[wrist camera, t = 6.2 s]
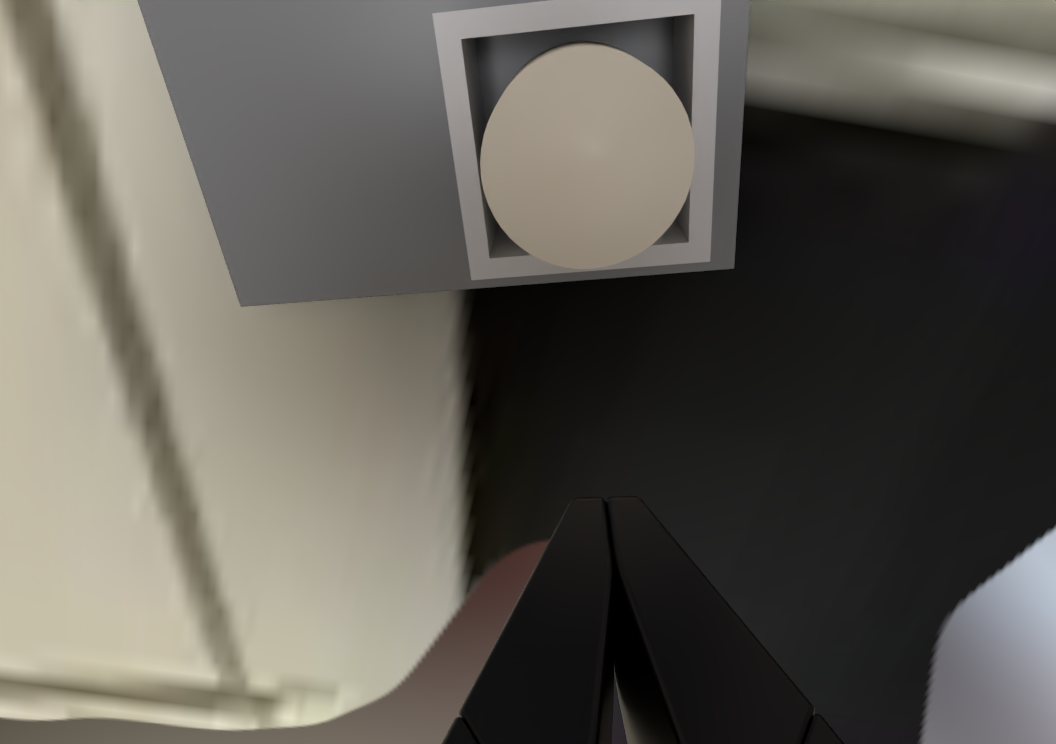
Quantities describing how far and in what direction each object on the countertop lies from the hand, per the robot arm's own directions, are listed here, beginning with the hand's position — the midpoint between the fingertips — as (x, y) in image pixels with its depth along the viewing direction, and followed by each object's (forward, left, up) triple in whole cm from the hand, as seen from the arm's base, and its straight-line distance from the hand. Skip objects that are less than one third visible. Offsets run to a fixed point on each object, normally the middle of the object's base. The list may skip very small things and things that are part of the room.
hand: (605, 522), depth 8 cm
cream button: (0, -3, -9) cm, 10 cm away
